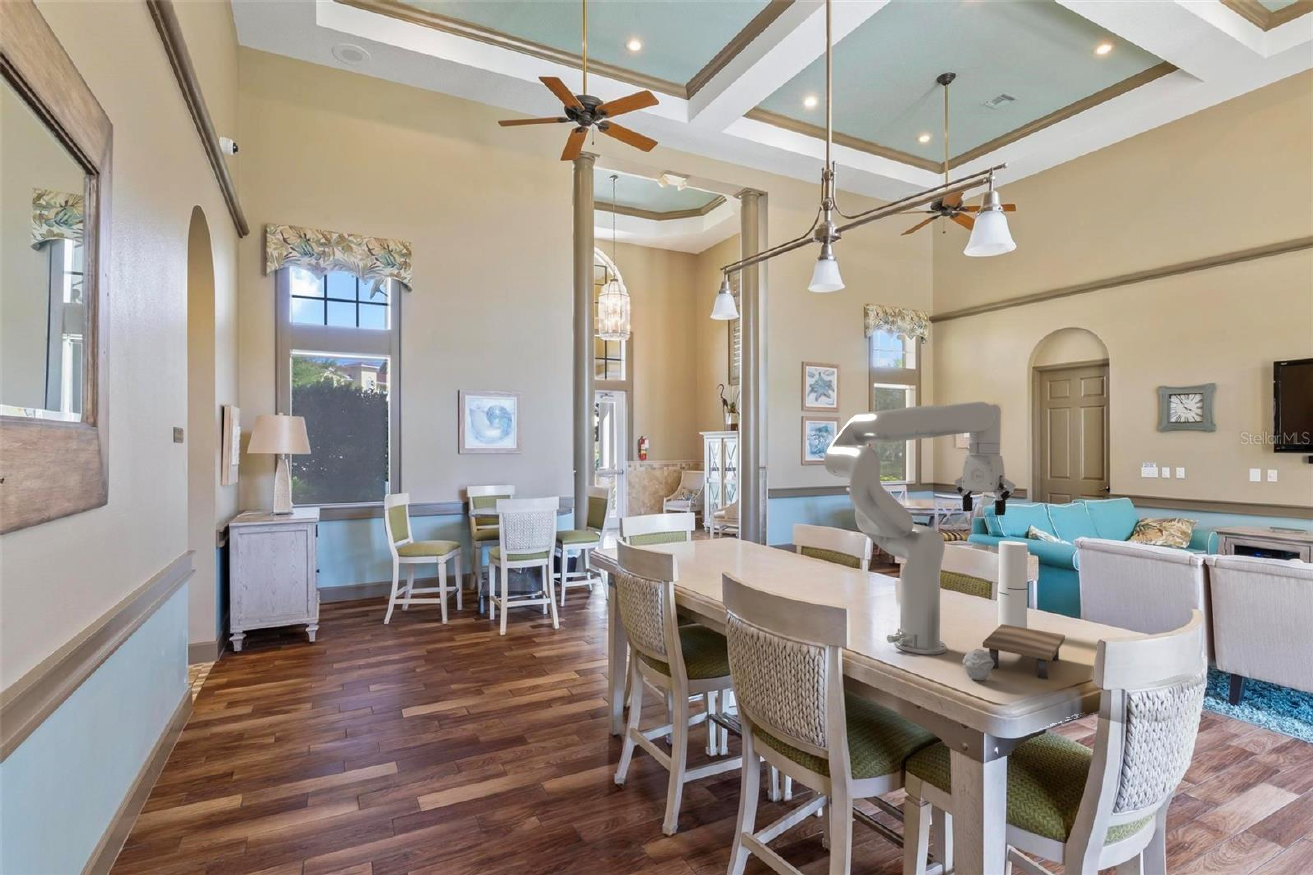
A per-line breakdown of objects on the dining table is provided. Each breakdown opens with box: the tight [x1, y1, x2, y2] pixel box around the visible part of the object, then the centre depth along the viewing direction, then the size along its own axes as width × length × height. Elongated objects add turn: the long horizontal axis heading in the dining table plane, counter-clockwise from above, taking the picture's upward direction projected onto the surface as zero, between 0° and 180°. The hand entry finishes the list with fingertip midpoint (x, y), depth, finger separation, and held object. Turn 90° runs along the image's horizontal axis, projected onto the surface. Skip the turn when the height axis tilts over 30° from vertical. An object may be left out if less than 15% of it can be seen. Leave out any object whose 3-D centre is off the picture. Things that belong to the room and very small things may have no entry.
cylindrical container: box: [997, 540, 1029, 629], centre depth 180 cm, size 7×7×25 cm
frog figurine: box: [962, 648, 995, 681], centre depth 143 cm, size 6×7×7 cm
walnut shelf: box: [982, 624, 1066, 680], centre depth 154 cm, size 20×14×6 cm
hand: (983, 513), depth 172 cm, fingers open, 9 cm apart
